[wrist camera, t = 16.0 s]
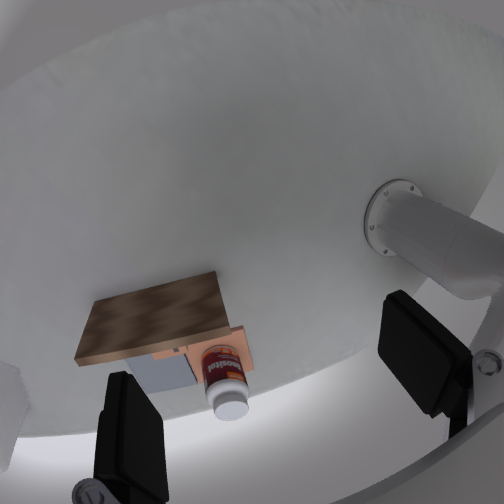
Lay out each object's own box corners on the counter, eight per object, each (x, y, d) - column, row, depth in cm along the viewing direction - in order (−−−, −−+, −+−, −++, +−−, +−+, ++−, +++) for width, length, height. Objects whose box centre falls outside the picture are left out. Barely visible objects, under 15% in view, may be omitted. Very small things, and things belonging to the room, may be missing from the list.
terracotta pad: (242, 325, 44) (243, 328, 43) (252, 366, 48) (253, 369, 48) (181, 341, 43) (182, 344, 42) (199, 380, 47) (199, 383, 46)
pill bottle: (239, 342, 44) (256, 395, 34) (238, 369, 47) (253, 420, 37) (199, 345, 43) (208, 400, 33) (201, 372, 45) (210, 426, 35)
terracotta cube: (176, 303, 40) (176, 326, 36) (186, 330, 42) (188, 353, 38) (143, 312, 40) (140, 334, 35) (155, 337, 42) (154, 361, 37)
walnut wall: (215, 271, 39) (229, 325, 29) (217, 278, 40) (232, 334, 29) (94, 301, 37) (74, 359, 26) (98, 308, 38) (79, 366, 27)
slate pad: (179, 341, 43) (179, 345, 42) (197, 380, 47) (197, 384, 46) (123, 353, 42) (123, 357, 41) (146, 390, 46) (146, 394, 45)
